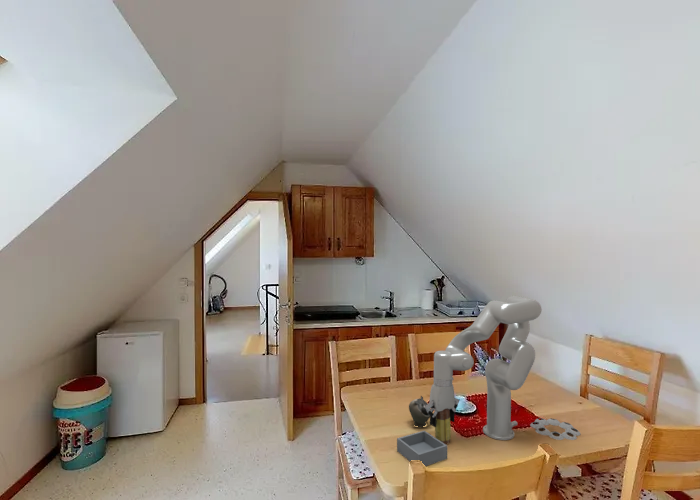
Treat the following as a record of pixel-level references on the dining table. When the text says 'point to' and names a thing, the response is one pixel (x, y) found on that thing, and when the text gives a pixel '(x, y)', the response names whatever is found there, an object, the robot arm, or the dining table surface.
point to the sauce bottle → (443, 426)
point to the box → (422, 448)
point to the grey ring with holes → (555, 422)
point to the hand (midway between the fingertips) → (442, 423)
